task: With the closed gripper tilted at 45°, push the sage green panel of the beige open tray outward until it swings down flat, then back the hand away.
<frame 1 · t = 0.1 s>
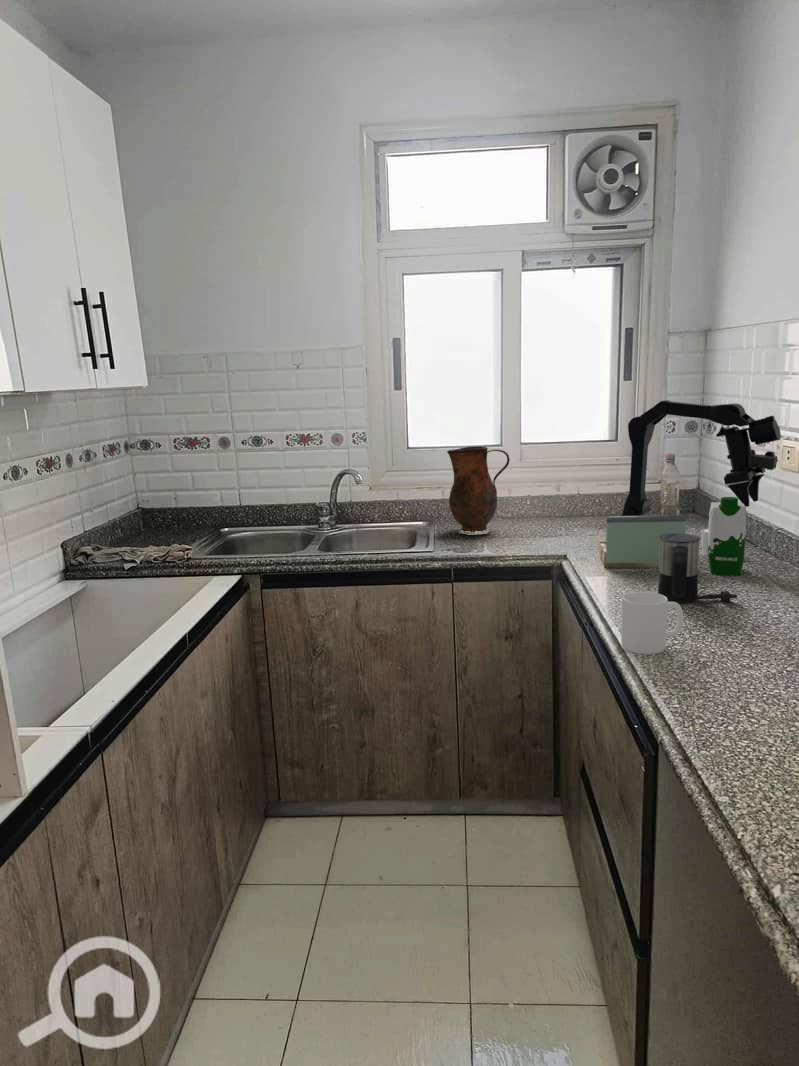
hand: (751, 503, 196), 15 cm above the worktop, tool pointing down, fingers open, 9 cm apart
milk carton: (724, 572, 187), on the worktop
beige open tray: (640, 562, 200), on the worktop
cup: (652, 647, 139), on the worktop
sage green panel: (645, 539, 192), point 8 cm above the worktop, hinge at 0.0°
pitcher: (480, 533, 249), on the worktop
milk frother: (695, 601, 165), on the worktop
shot glass: (712, 554, 205), on the worktop
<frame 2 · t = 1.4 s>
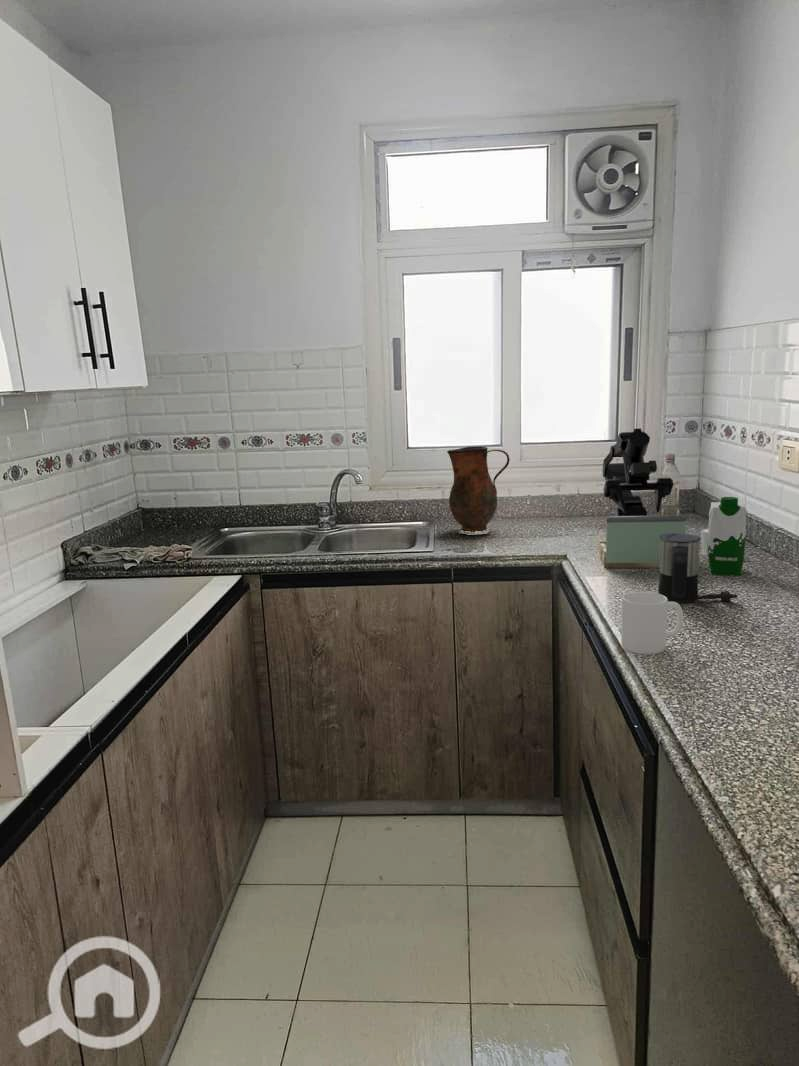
hand: (641, 512, 202), 14 cm above the worktop, tool tilted 45°, fingers open, 9 cm apart
nothing on the worktop moved.
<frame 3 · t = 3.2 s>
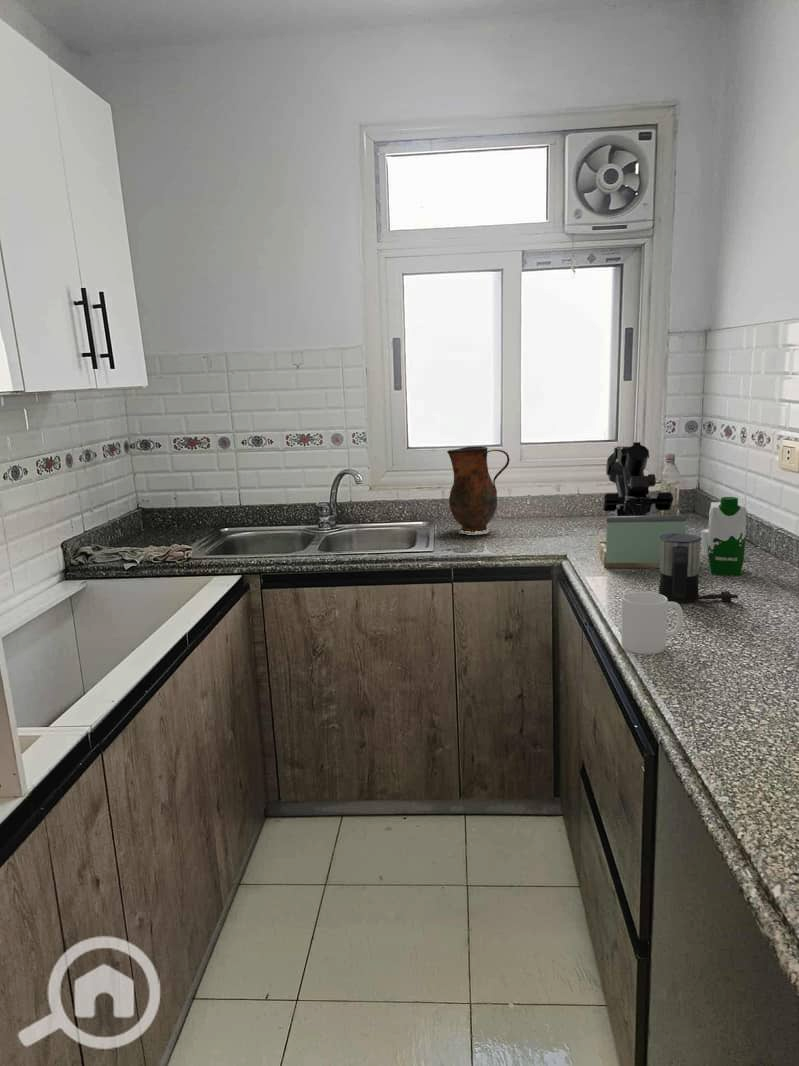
hand: (640, 526, 199), 10 cm above the worktop, tool tilted 45°, fingers closed
nothing on the worktop moved.
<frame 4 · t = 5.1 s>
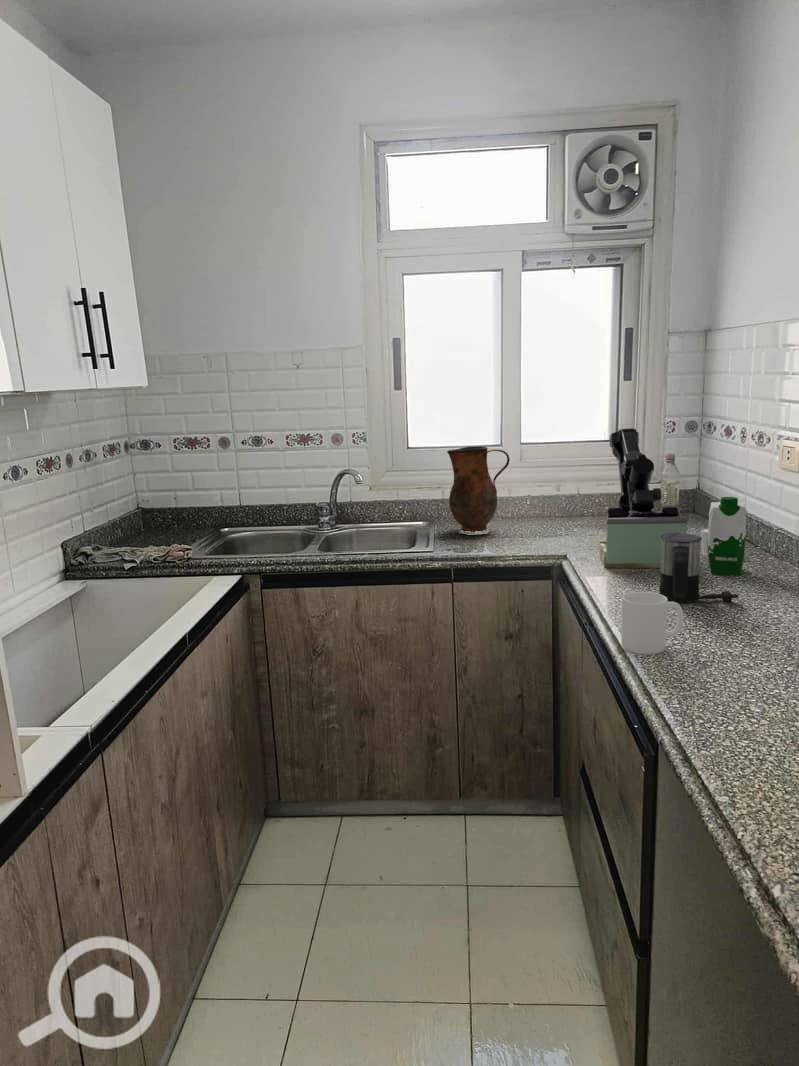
hand: (645, 542, 192), 7 cm above the worktop, tool tilted 45°, fingers closed, pressing on sage green panel
sage green panel: (645, 540, 191), point 8 cm above the worktop, hinge at 6.6°, touching gripper
everything else where it was.
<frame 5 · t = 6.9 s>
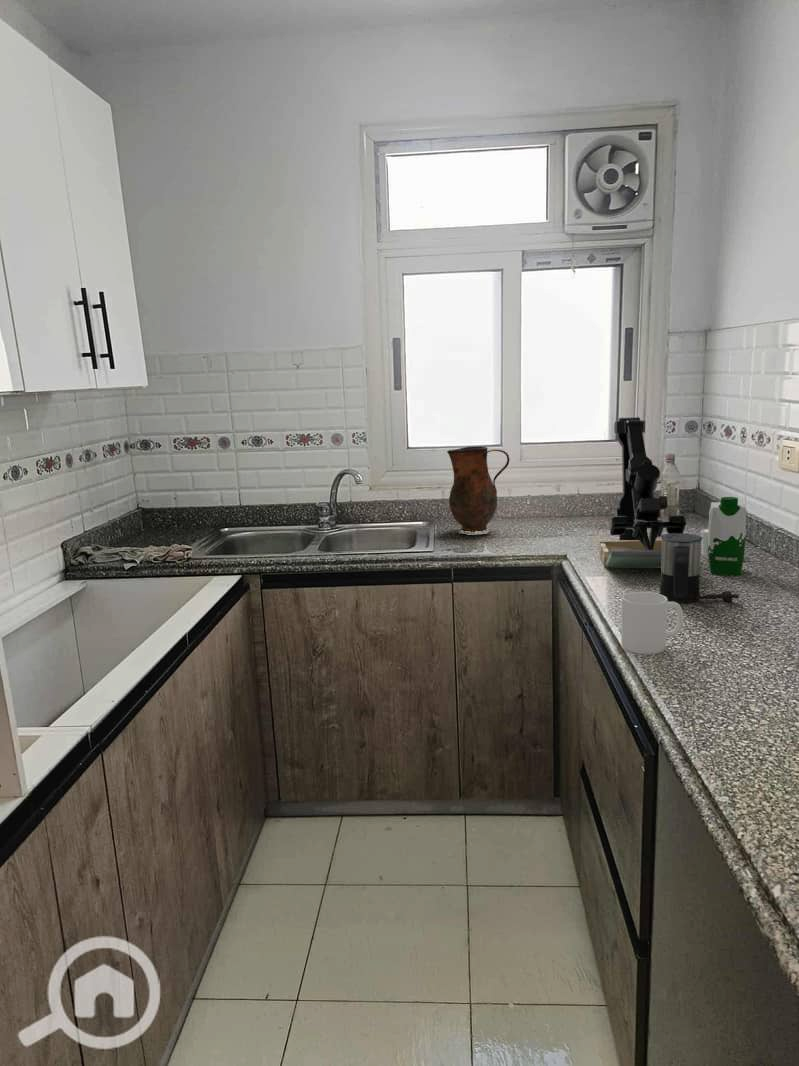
hand: (650, 552, 184), 7 cm above the worktop, tool tilted 45°, fingers closed, pressing on sage green panel
sage green panel: (648, 558, 188), point 4 cm above the worktop, hinge at 61.2°, touching gripper
everything else where it was.
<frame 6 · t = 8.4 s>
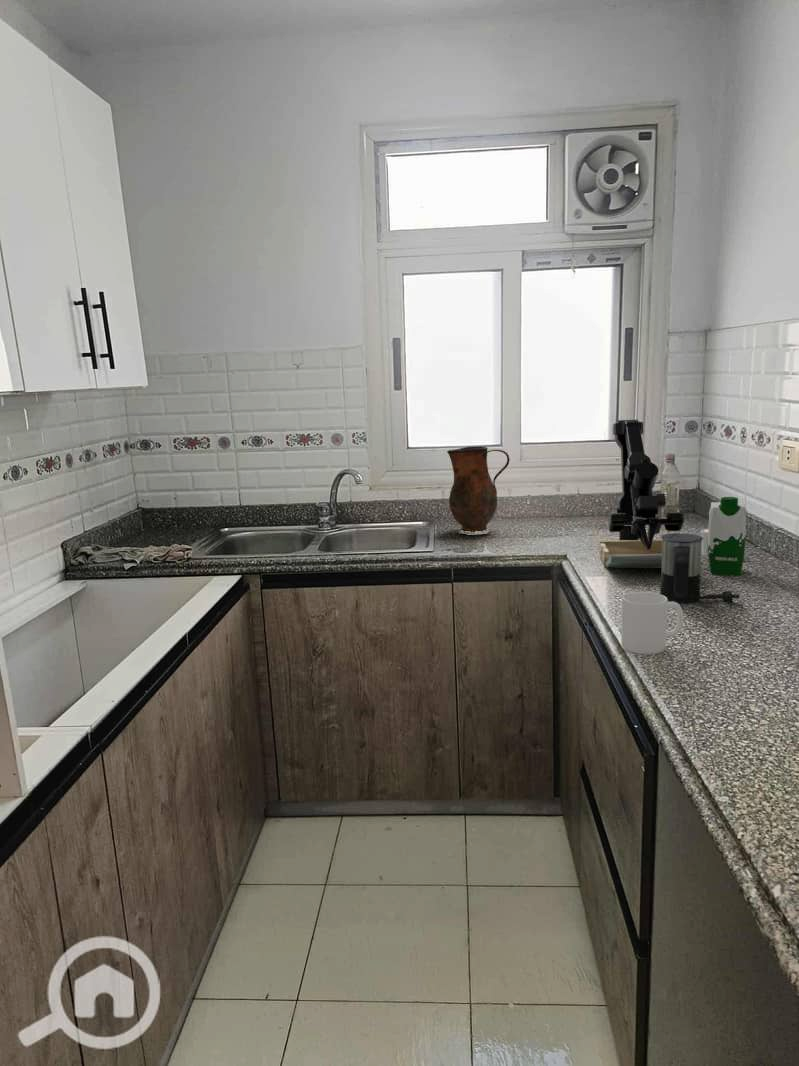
hand: (648, 549, 187), 7 cm above the worktop, tool tilted 45°, fingers closed
sage green panel: (648, 561, 188), point 3 cm above the worktop, hinge at 67.7°
everything else where it was.
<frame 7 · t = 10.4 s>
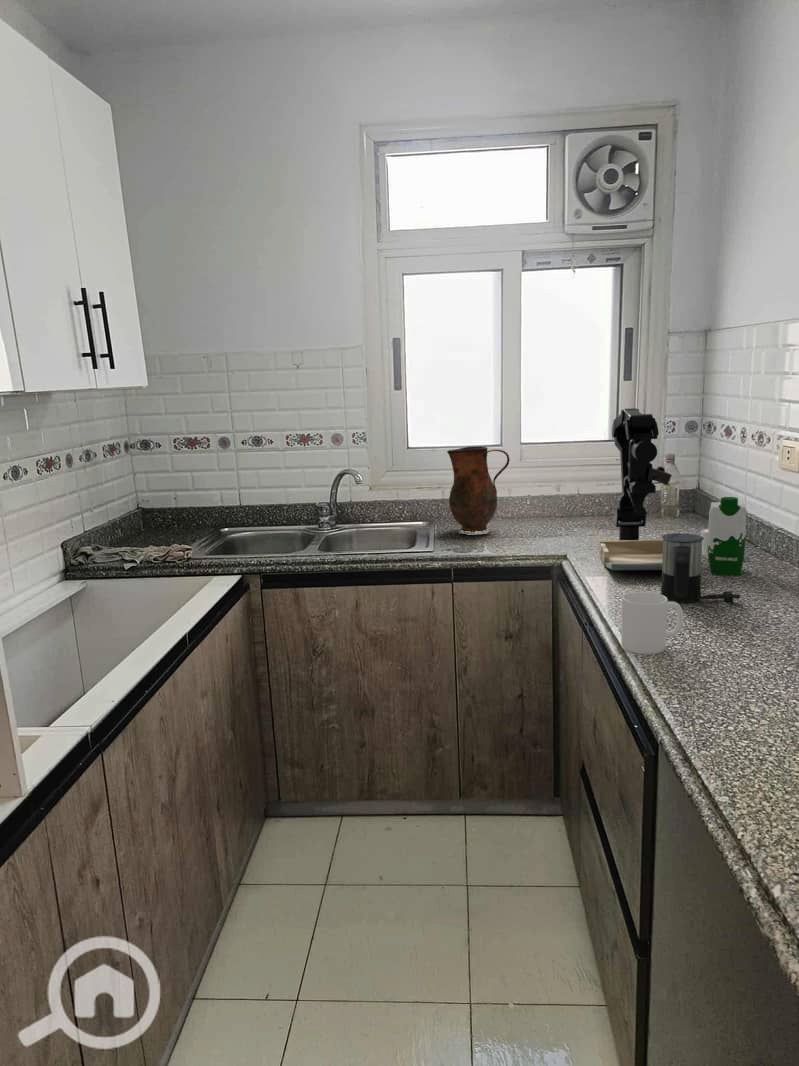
hand: (638, 514, 202), 13 cm above the worktop, tool pointing down, fingers closed
sage green panel: (648, 565, 188), point 2 cm above the worktop, hinge at 77.5°
everything else where it was.
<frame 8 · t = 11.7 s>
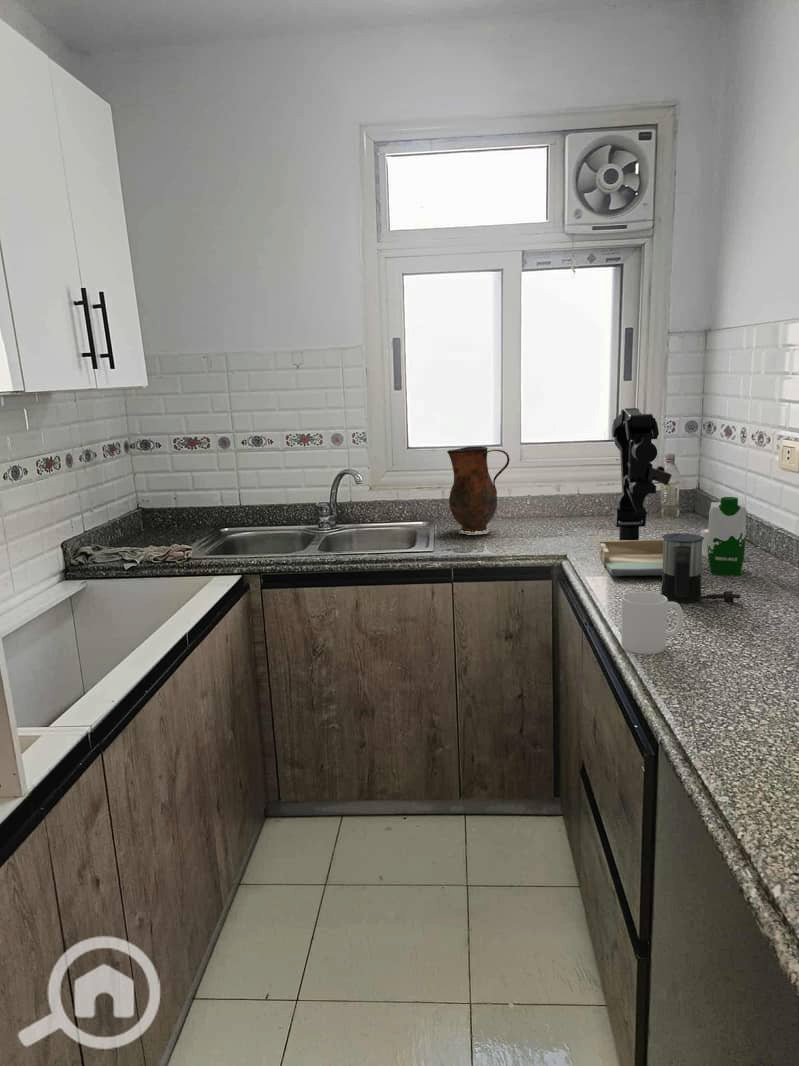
hand: (638, 513, 202), 13 cm above the worktop, tool pointing down, fingers closed
sage green panel: (648, 568, 188), point 2 cm above the worktop, hinge at 84.3°
everything else where it was.
at the end: sage green panel at +85° (first picture: +0°); milk carton moved 0.2 cm from its start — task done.
